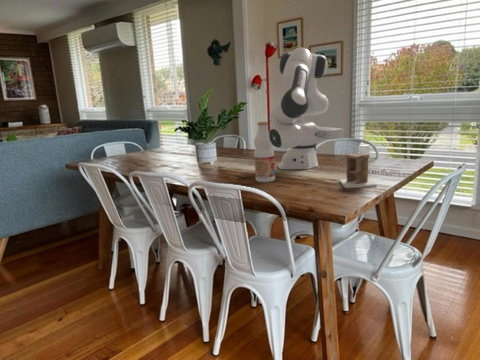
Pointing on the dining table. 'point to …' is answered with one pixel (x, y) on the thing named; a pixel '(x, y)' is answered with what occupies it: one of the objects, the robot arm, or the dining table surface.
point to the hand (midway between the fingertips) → (335, 130)
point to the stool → (357, 167)
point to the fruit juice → (264, 155)
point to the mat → (353, 184)
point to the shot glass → (364, 149)
